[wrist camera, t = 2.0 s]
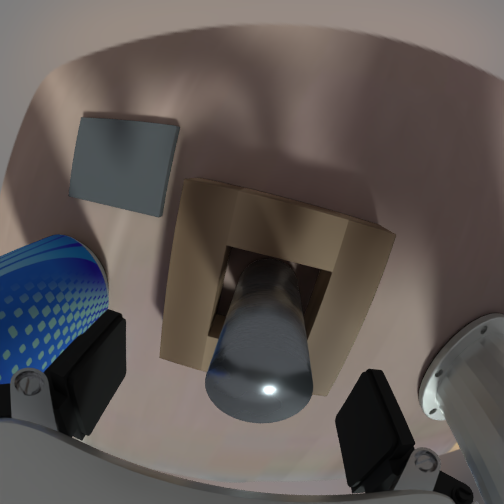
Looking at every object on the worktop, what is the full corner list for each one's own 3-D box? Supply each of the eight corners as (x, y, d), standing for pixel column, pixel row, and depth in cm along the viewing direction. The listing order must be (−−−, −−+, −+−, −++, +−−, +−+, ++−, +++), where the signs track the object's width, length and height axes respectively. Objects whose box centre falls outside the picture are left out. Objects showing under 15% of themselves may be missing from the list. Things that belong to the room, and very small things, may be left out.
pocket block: (378, 224, 17) (396, 234, 15) (321, 371, 21) (326, 396, 18) (198, 177, 18) (184, 178, 15) (172, 335, 21) (159, 357, 18)
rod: (305, 266, 19) (329, 360, 9) (288, 318, 20) (293, 429, 10) (245, 251, 19) (214, 334, 9) (233, 305, 20) (199, 410, 10)
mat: (180, 127, 17) (177, 126, 16) (162, 215, 19) (158, 217, 18) (85, 118, 17) (81, 117, 16) (73, 195, 19) (68, 196, 18)
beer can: (42, 222, 20) (-111, 286, 4) (118, 242, 19) (-68, 357, 4) (47, 308, 22) (-65, 399, 7) (117, 336, 22) (6, 474, 6)
